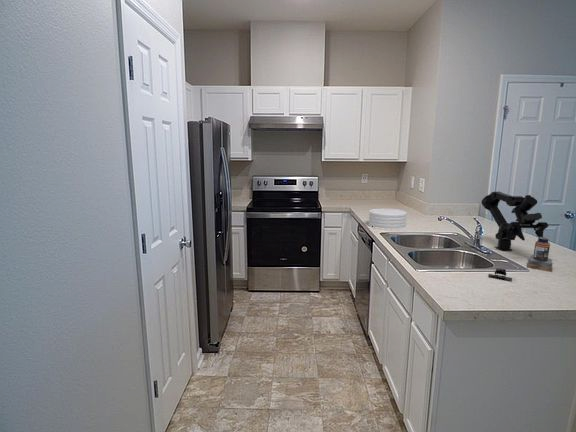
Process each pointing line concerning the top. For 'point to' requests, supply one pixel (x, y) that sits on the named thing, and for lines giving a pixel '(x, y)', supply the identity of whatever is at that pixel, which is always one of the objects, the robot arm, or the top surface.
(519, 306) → the top surface
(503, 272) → the black bar with hump
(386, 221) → the plate stack
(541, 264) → the plate
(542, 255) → the supplement bottle
